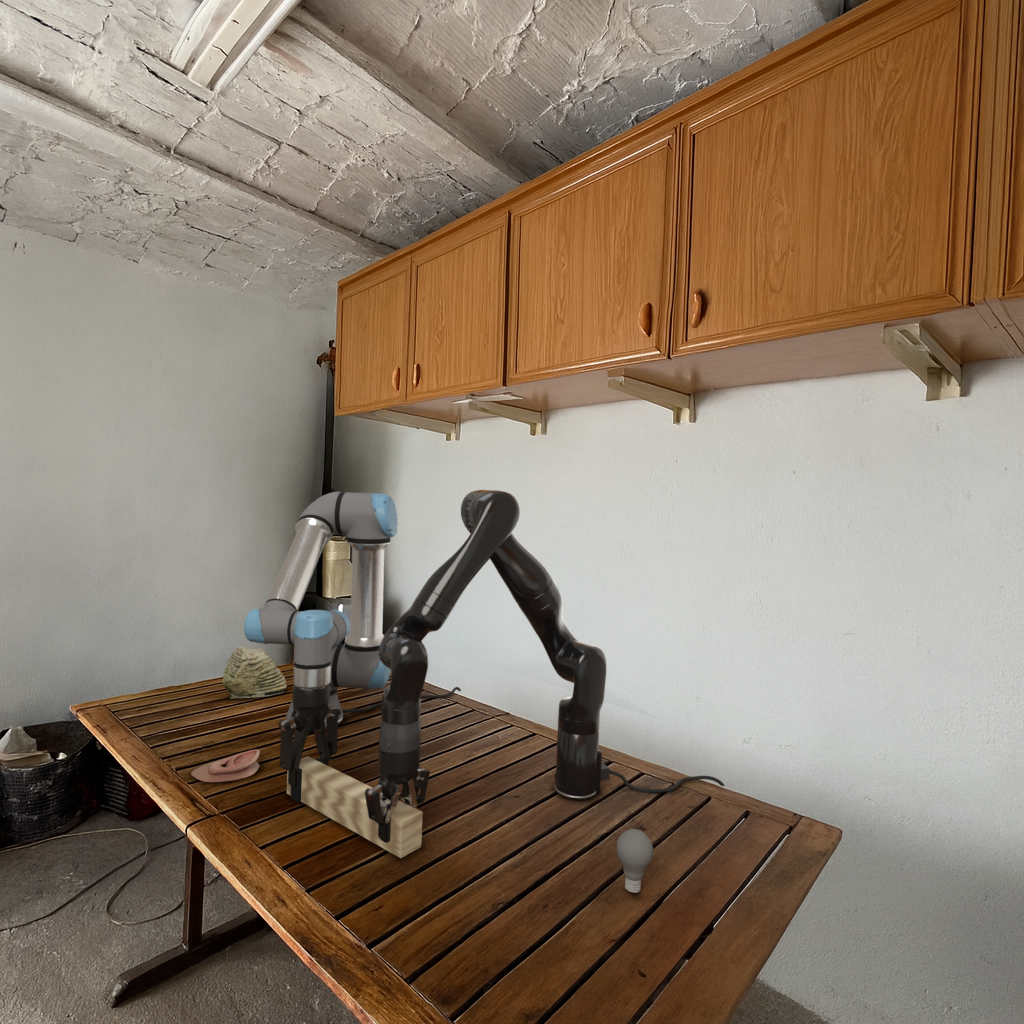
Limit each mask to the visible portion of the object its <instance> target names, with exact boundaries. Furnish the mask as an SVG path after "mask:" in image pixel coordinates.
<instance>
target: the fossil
mask: <svg viewBox="0 0 1024 1024" xmlns="http://www.w3.org/2000/svg"><path fill="white" fill-rule="evenodd" d="M222 676H223V677H222V685H223V687H224V688H225V690H226V691H228V693H229V698H230V699H250V698H264V697H271V696H275V695H281V694H284V693H285V691H286V689H287V687H288V686H287V680H286V678H285V676H284V674H283V673H282V672H281V669H279V668H278V667H277V665H276V663H275V662H274V660H273V659H272V658H271V657H270V656H269V655H268V654H267V653H266V652H265V650H264V649H263V648H260V647H258V648H251V647H247V646H246V647H245V646H238V647H237V648H236V649H235V650H233V651H232V653H231V656H230V657H229V659H228V660H227V663H226V666H225V668H224V671H223V675H222Z"/></svg>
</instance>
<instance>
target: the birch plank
mask: <svg viewBox="0 0 1024 1024" xmlns="http://www.w3.org/2000/svg"><path fill="white" fill-rule="evenodd" d="M315 759H316V758H313V757H310V756H308V755H307V756H305V757H301V761H300V765H299V768H300V769H302V788H301V801H300V802H301V803H302V804H304V805H306V806H307V807H309V808H312V809H313V810H315V811H316V812H318V813H320V814H322V815H324V816H326V817H327V818H329V819H331V820H332V821H335V822H336V823H337V824H340V825H341V826H343V827H345V828H346V829H348V830H350V831H351V832H354V834H355V833H356V834H357V835H359V836H361V837H362V838H363V839H366V840H368V841H369V842H371V843H373V844H374V845H376V846H378V847H379V848H382V849H383V850H385V851H387V852H388V853H390V854H392V855H394V856H395V857H397V858H399V859H402V858H404V857H406V856H408V855H409V854H411V853H413V852H415V851H417V850H419V849H420V848H422V844H423V843H422V842H423V841H422V840H423V816H424V815H423V814H424V811H422V810H420V809H418V808H417V809H415V808H413V807H411V806H409V805H407V804H405V803H404V802H403V801H401V800H399V801H398V802H397V806H396V809H395V810H393V812H392V816H391V819H390V822H391V834H390V841H389V842H387V843H385V842H384V841H382V840H380V838H379V837H378V823H377V822H375V821H374V820H371V819H369V815H368V809H367V804H366V798H365V790H366V789H367V788H369V789H373V788H374V787H372V786H371V785H368V784H366V783H365V782H363V781H359V780H357V779H355V778H354V777H352V776H350V775H347V774H346V773H343V772H341V771H339V770H337V769H335V768H334V767H332V766H329V765H328V766H327V765H325V764H323V763H321V762H319V761H317V760H315ZM286 772H287V773H286V794H287V795H289V796H290V797H291V785H289V783H288V771H287V770H286ZM387 801H388V802H391V801H390V800H388V799H387ZM386 810H387V809H386V808H385V812H384V814H385V813H386Z"/></svg>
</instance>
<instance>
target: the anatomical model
mask: <svg viewBox="0 0 1024 1024" xmlns="http://www.w3.org/2000/svg"><path fill="white" fill-rule="evenodd" d="M260 754H261V752H260V749H257V748H256V749H251V750H247V751H243V752H240V753H236V754H234V755H231V756H228V757H225V758H222V759H219V760H216V761H211V762H209V763H206V764H204V765H201V766H198V767H197V768H195V769H193V770H192V771H191V773H190V775H191V776H192V777H193V778H194V779H196V780H198V781H201V782H203V783H221V782H230V781H231V782H233V781H237V780H241V779H246V778H248V777H250V776H253V775H254V774H256V772H257V771H258V770H259V768H260V764H259V762H258V759H259V757H260Z"/></svg>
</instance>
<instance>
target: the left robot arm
mask: <svg viewBox="0 0 1024 1024" xmlns="http://www.w3.org/2000/svg"><path fill="white" fill-rule="evenodd" d="M396 507H397V506H396V504H395V501H394V499H393V497H392V496H390V495H389V494H386V493H377V492H352V491H351V492H350V491H332V492H329V493H326V494H323V495H322V496H320V497H318V498H317V499H315V500H314V501H312V502H311V503H310V504H309V505H308V506H307V507H306V508H305V509H304V510H303V511H302V513H301V514H300V515H299V517H298V518H297V519H298V520H297V521H296V524H295V525H294V531H295V536H294V538H293V540H292V542H291V545H290V547H289V550H288V552H287V554H286V556H285V558H284V560H283V562H282V565H281V568H280V570H279V572H278V574H277V577H276V578H275V581H274V583H273V585H272V588H271V590H270V592H269V594H268V597H267V598H266V601H265V604H264V605H263V608H253V609H251V610H250V611H249V612H248V613H247V614H246V617H245V619H244V624H243V632H244V636H245V638H246V640H247V641H249V642H251V643H257V644H264V645H267V644H271V645H292V646H294V647H293V648H294V649H293V651H294V652H293V677H292V678H293V679H292V681H293V682H292V683H293V687H292V699H291V702H290V704H289V708H288V711H287V713H286V715H285V720H284V719H281V720H279V722H278V726H279V730H280V745H279V763H278V765H279V768H281V769H283V770H285V771H286V772H287V771H288V783H289V785H291V796H290V799H292V800H293V801H295V802H297V803H299V802H301V788H302V769H300V768H299V765H300V761H301V759H302V758H303V753H304V748H305V744H306V741H307V738H308V737H309V735H310V733H313V734H314V739H315V745H316V749H317V754H318V757H316V758H314V759H315V760H317V761H319V762H321V763H323V764H325V765H327V766H329V762H331V761H332V759H333V755H334V756H335V755H336V754H337V753H338V733H339V726H340V725H342V723H343V722H344V714H345V713H347V714H348V713H361V712H367V711H371V710H373V709H375V708H378V707H382V701H381V702H378V703H376V704H373V705H370V706H367V707H363V708H349V709H342V706H341V702H340V699H339V695H338V688H344V689H345V688H346V689H347V688H348V689H364V690H381V689H383V688H384V687H385V686H386V685H387V684H388V681H389V679H390V675H391V674H392V670H391V669H389V668H388V667H386V666H385V665H384V664H383V663H382V662H381V660H380V658H379V646H380V643H381V641H382V639H383V637H384V636H385V634H383V624H384V623H383V622H384V621H383V620H384V618H383V617H384V587H385V586H384V583H385V582H384V581H385V549H387V548H386V547H388V546H389V545H390V544H391V538H394V537H396V535H397V532H398V514H397V509H396ZM335 535H340V536H341V535H343V536H344V535H345V536H346V543H347V544H348V545H349V546H350V547H351V549H352V552H351V553H352V554H351V596H350V597H351V598H350V599H351V602H350V607H351V608H350V620H349V617H348V616H347V615H346V614H345V613H344V612H343V611H341V610H337V609H331V610H330V609H329V610H325V609H308V610H307V609H306V610H303V611H302V610H301V611H299V609H300V606H301V604H302V602H303V600H304V597H305V593H306V592H307V589H308V587H309V584H310V581H311V579H312V577H313V574H314V571H315V569H316V567H317V564H318V562H319V558H320V557H321V555H322V551H323V549H324V547H325V544H328V543H329V542H330V541H331V540H332V537H333V536H335ZM349 632H350V634H349ZM348 634H349V635H348ZM343 640H344V643H341V642H343ZM456 690H457V692H461V691H462V689H461V688H460V687H459V686H455V687H453V689H452V690H451V691H450V692H448V693H446V694H421V699H441V698H447V697H450V696H452V695H453V694H454V693H455V692H456Z"/></svg>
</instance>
